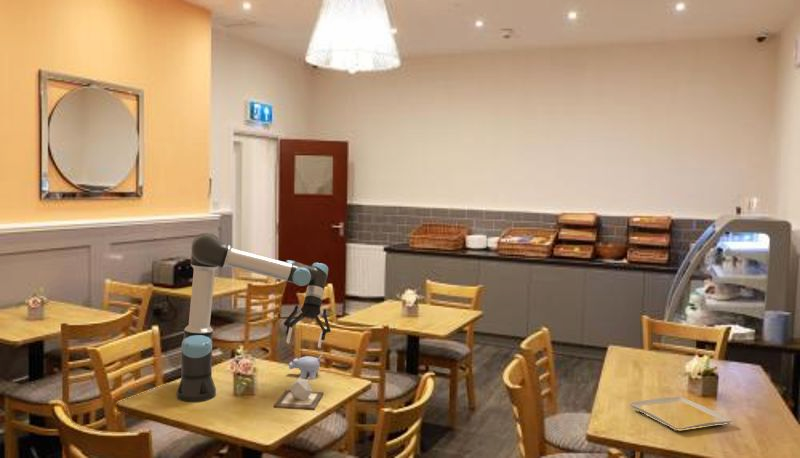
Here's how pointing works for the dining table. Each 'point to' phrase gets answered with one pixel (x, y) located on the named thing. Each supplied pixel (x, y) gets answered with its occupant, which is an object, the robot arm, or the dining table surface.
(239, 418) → the dining table surface
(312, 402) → the picture frame
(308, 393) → the die
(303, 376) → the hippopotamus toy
